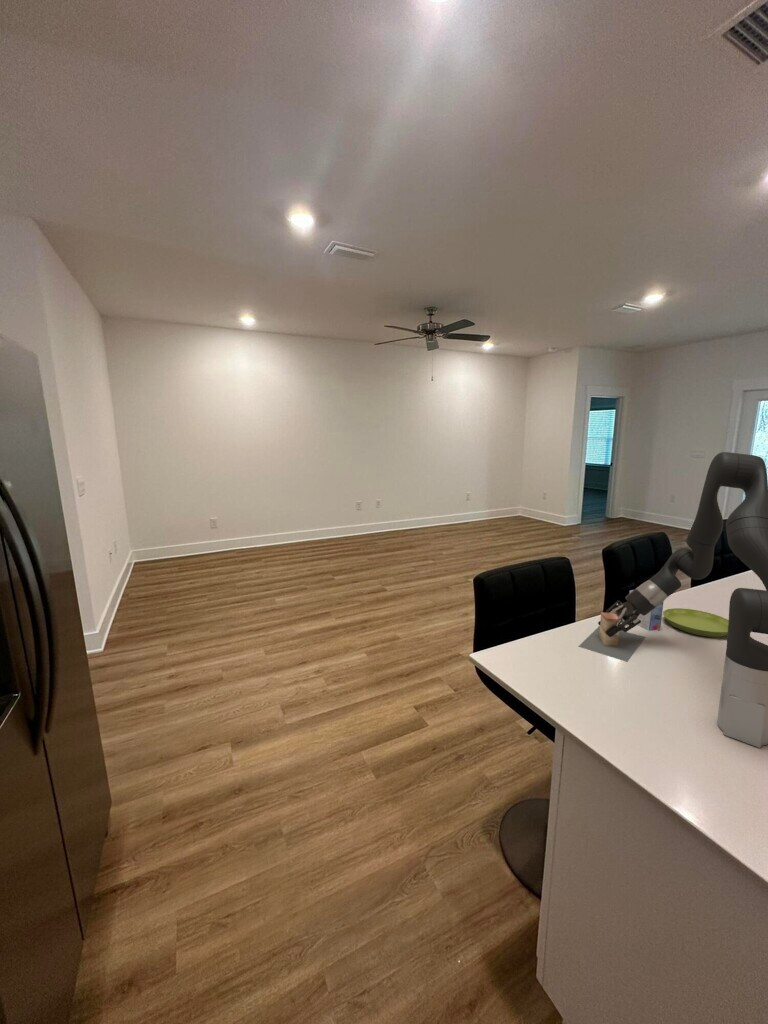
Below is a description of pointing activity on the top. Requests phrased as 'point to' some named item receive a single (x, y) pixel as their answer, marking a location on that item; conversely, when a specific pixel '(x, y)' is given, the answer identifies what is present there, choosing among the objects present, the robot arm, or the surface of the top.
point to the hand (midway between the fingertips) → (603, 630)
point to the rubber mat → (622, 651)
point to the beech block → (605, 624)
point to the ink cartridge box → (651, 618)
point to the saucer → (697, 622)
